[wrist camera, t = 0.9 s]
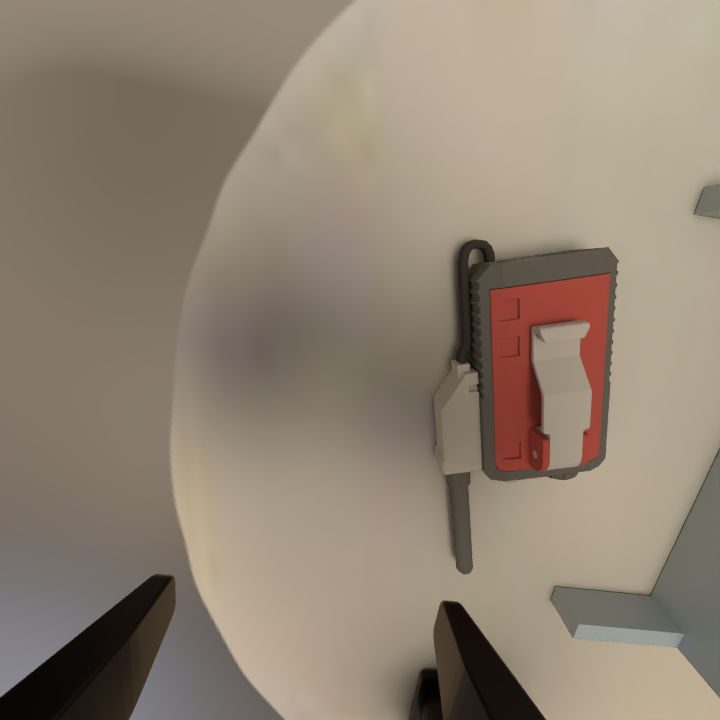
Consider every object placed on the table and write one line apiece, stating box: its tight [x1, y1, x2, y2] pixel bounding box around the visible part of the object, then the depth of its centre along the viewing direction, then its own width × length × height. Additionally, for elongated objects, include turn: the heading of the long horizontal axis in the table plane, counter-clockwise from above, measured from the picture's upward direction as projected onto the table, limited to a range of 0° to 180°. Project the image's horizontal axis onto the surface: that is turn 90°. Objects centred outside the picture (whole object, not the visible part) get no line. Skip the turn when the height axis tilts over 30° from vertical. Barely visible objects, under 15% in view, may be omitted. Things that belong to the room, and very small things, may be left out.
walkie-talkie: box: [433, 240, 619, 574], centre depth 18 cm, size 9×4×20 cm
